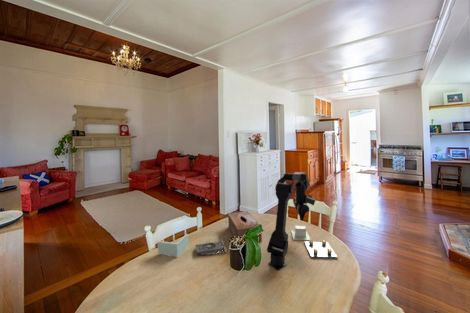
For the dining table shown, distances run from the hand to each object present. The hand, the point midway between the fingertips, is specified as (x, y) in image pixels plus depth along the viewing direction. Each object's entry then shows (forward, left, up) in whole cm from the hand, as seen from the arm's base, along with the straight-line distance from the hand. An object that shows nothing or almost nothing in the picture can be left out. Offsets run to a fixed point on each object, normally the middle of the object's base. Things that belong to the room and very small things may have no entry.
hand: (300, 217), depth 132 cm
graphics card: (-51, +23, -13) cm, 57 cm away
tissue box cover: (-25, +25, -12) cm, 38 cm away
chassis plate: (-6, -17, -12) cm, 22 cm away
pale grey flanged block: (0, 0, -12) cm, 13 cm away
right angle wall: (-68, +36, -12) cm, 78 cm away
